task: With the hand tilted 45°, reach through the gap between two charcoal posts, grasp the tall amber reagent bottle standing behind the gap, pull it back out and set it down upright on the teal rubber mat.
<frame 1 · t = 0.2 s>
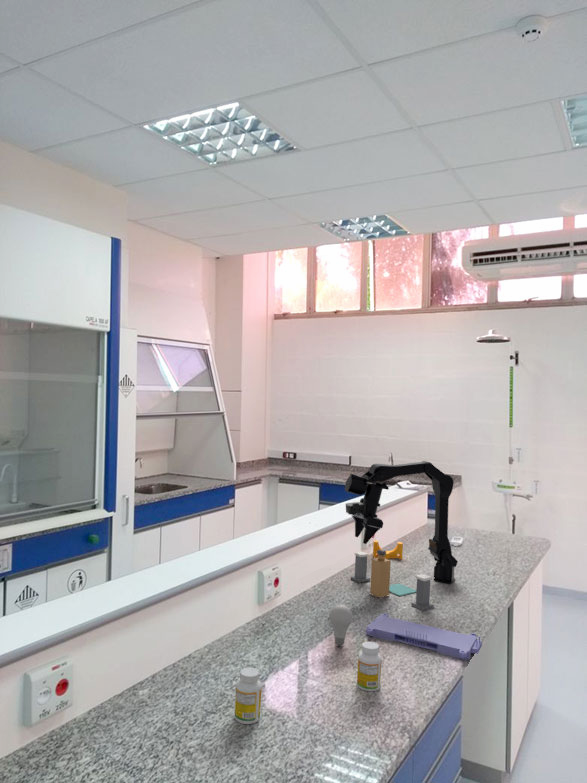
hand: (360, 540, 216), 15 cm above the table, tool pointing down, fingers open, 9 cm apart
computer part: (423, 642, 167), on the table
pipe clamp: (387, 558, 250), on the table
bottle: (379, 594, 204), on the table
mat: (399, 590, 209), on the table
lightbulb: (339, 646, 161), on the table
supplement bottle 2: (368, 687, 140), on the table
post right: (360, 580, 218), on the table
post: (422, 606, 194), on the table
supplement bottle: (247, 718, 124), on the table
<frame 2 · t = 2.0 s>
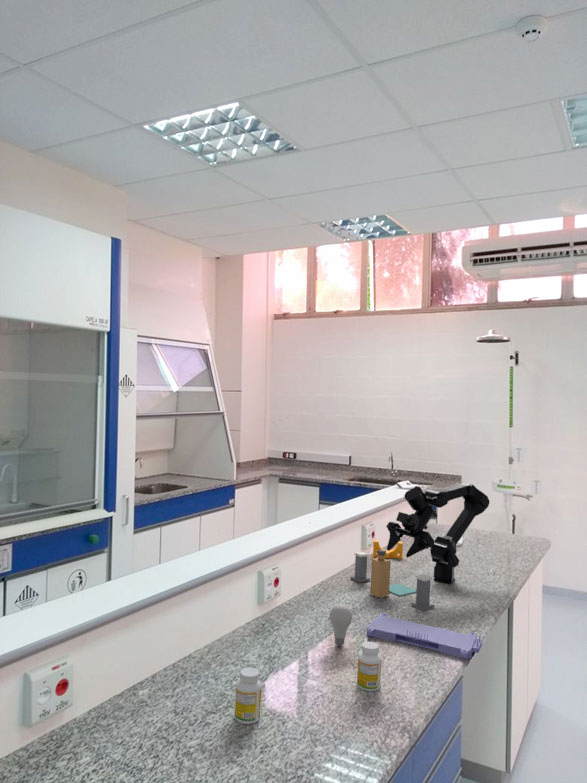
hand: (397, 553, 208), 13 cm above the table, tool tilted 45°, fingers open, 9 cm apart
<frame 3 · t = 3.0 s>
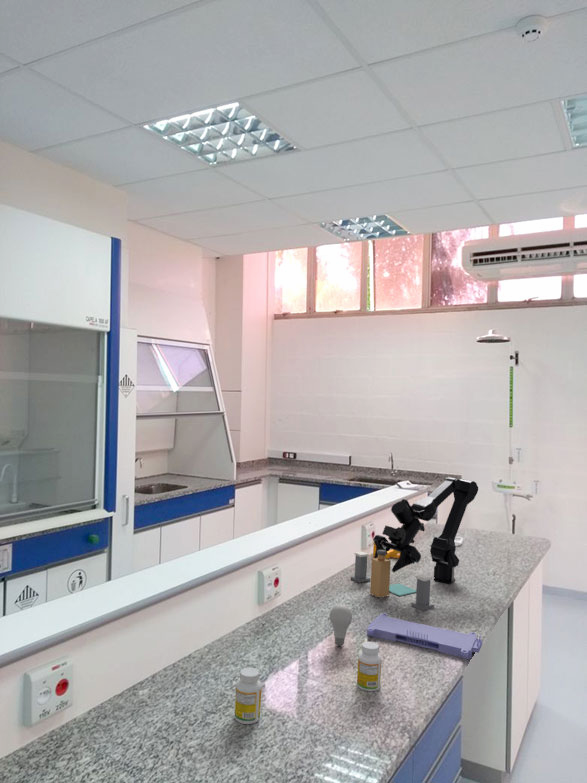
hand: (383, 567, 204), 9 cm above the table, tool tilted 45°, fingers open, 9 cm apart
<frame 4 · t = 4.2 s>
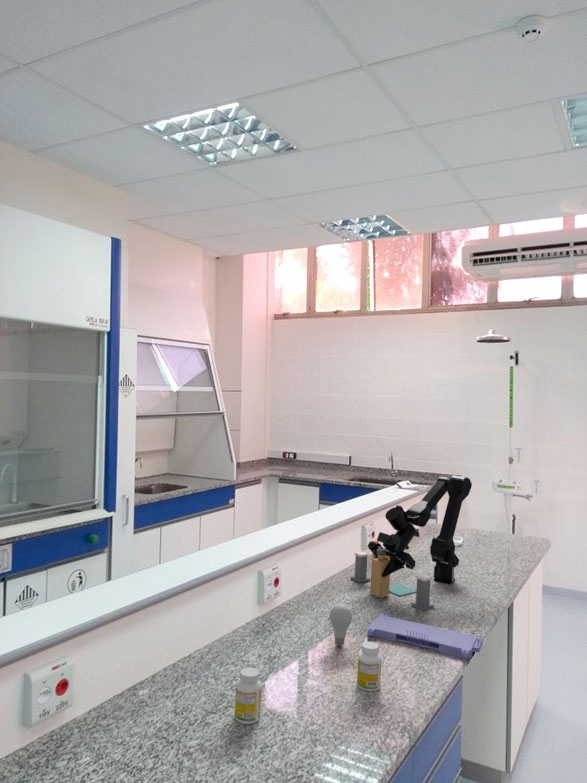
hand: (377, 574, 203), 7 cm above the table, tool tilted 45°, fingers closed on bottle, 4 cm apart
bottle: (379, 594, 203), on the table, touching gripper
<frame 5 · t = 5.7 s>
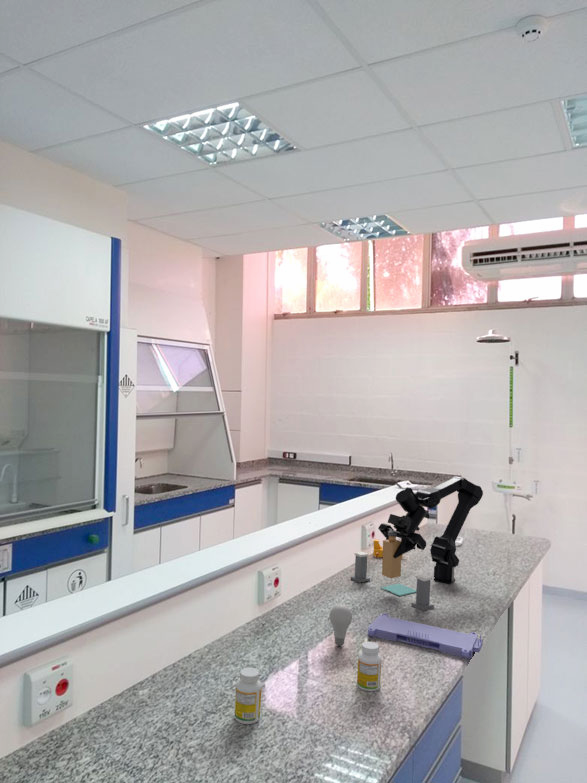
hand: (389, 555, 206), 13 cm above the table, tool tilted 45°, fingers closed on bottle, 4 cm apart
bottle: (391, 575, 206), point 6 cm above the table, touching gripper
when the fingers open (8 cm above the table, at t = 7.4 s): bottle stays where it is, resting on mat.
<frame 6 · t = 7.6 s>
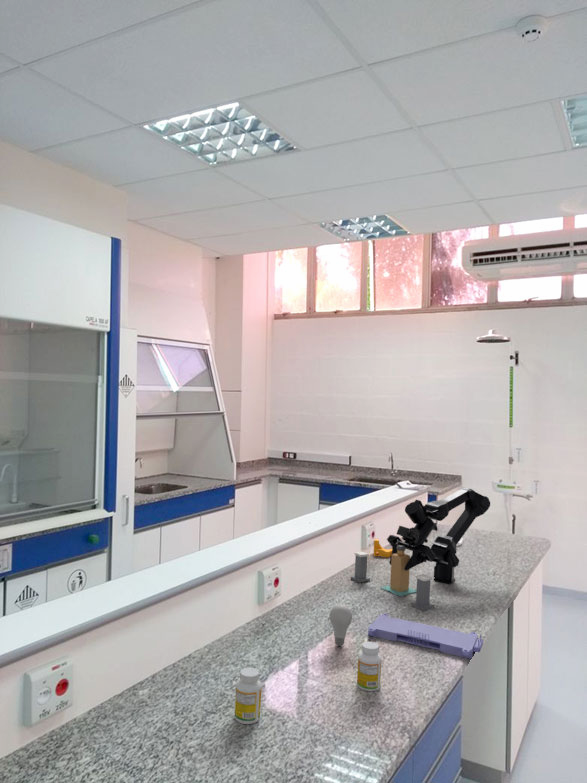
hand: (397, 567, 208), 8 cm above the table, tool tilted 45°, fingers open, 7 cm apart
bottle: (399, 589, 209), resting on mat
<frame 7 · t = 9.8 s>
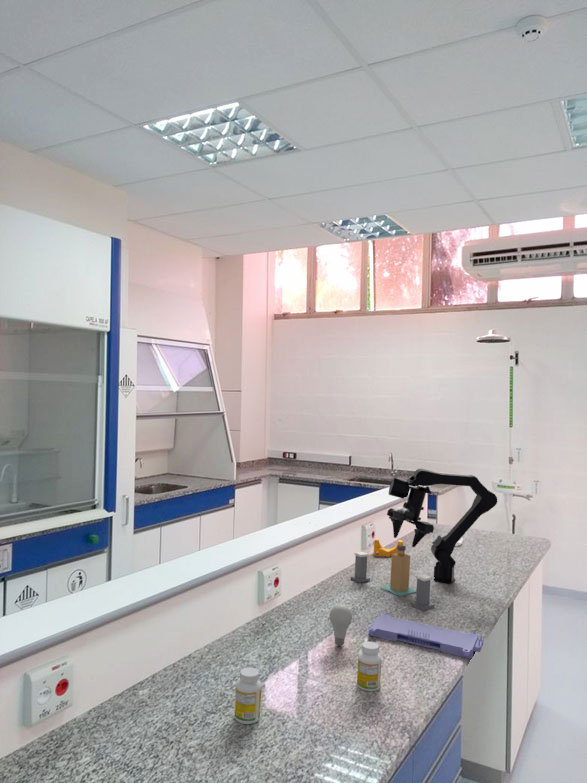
hand: (403, 542, 223), 13 cm above the table, tool pointing down, fingers open, 9 cm apart
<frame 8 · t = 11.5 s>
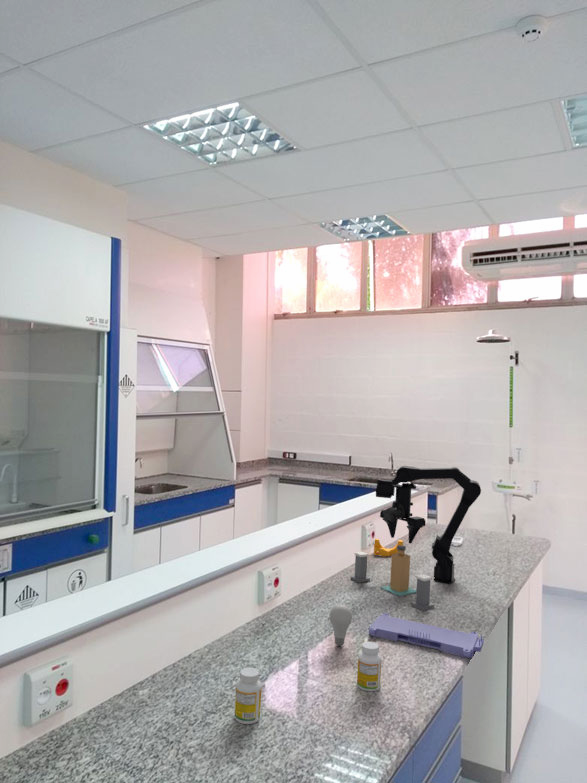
hand: (401, 540, 227), 13 cm above the table, tool pointing down, fingers open, 9 cm apart
at the end: bottle 0.0 cm from the mat (horizontally); bottle tilted 0°; the gripper is holding nothing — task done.
